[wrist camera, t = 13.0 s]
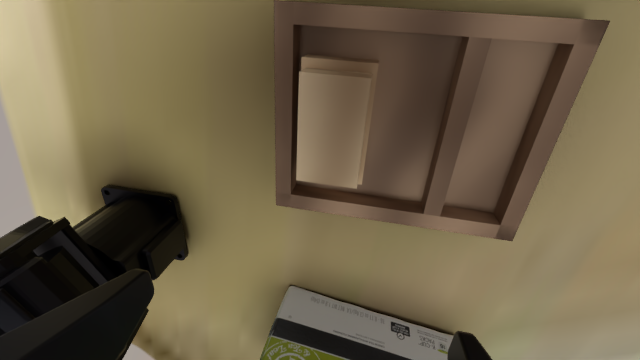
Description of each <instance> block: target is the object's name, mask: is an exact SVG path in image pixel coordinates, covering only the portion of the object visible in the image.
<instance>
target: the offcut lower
mask: <svg viewBox="0 0 640 360" xmlns="http://www.w3.org/2000/svg"><path fill="white" fill-rule="evenodd" d="M378 65H379V60H370V59H358V58H346V57H334V56H323V55H311V54H307V55H305V56H303V57H302V59H301V70H303V69H304V68H316V69H327V70H338V71H350V72H361V73H372V80H371V87H370V95H369V102H368V110H367V117H366V125H365V133H364V140H363V148H362V155H361V163H360V170H359V178H358V184H360V185H362V179H363V172H364V165H365V158H366V151H367V144H368V136H369V129H370V122H371V115H372V108H373V101H374V93H375V86H376V79H377V72H378Z"/></svg>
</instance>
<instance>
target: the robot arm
mask: <svg viewBox="0 0 640 360" xmlns="http://www.w3.org/2000/svg"><path fill="white" fill-rule="evenodd" d="M101 192H102V195H103V198H104V201H105V204H106V205H105V206H104V207H102V208H101V209H99V210H98V211H96V212H95V213H93V214H92V215H90V216H89V217H87V218H86V219H84V220H83V221H81V222H80V223H78V224H77V225H75V226H74V227H71V226H70V225H69V224H70V222H69V221H68V220H67V219H66V218H65V217H63V218H61V219H59V220H56V221H54V222H53V221H52V220H48V219H46V218H43V217H41V216H38V217H36V218H34V219H32V220H30V221H28V222H27V223H25V224H23V225H21V226H20V227H18V228H16V229H15V230H13V231H11V232H9V233H8V234H6V235H4V236H2V237H1V238H0V360H122V359H123V357H124V355H125V354H126V352H127V350H128V348H129V346H130V344H131V343H132V341H133V339H134V337H135V335H136V333H137V331H138V330H139V328H140V326H141V324H142V322H143V320H144V318H145V317H146V315H147V313H148V311H149V310H148V309H147V306H148V305H149V303H150V301H151V299H152V297H153V295H154V286H153V283H152V280H155V279H157V278H158V277H159V276H160V275H161V273H162V272H163V271H164V270H165V269H166V268H167V267H168V265H169V264H170V263H171V262H172V261H173V260H174V259H176V260H184V259H185V258H186V257H187V248H186V242H185V237H184V231H183V226H182V221H181V216H180V211H179V205H178V200H177V198H176V197H175V196H173V195H170V194H164V193H157V192H151V191H144V190H138V189H131V188H125V187H119V186H112V185H107V186H105V187H103V188H102V189H101ZM169 200H170V201H171V202H170V201H169ZM447 359H448V360H492V359H491V357H490V356H489V355H488V353H487V352H486V350H485V349H484V348H483V346H482V345H481V344H480V342H479V341H478V340H477V338H476V337H475V336H474V335H473V334H471V333H467V332H462V331H457V332H456V333H455V334H454V337H453V339H452V342H451V344H450V346H449V349H448V355H447Z"/></svg>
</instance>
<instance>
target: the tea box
mask: <svg viewBox="0 0 640 360" xmlns="http://www.w3.org/2000/svg"><path fill="white" fill-rule="evenodd" d="M453 337H454V335H449V334H445V333H440V332H437V331H435V330H432V329H428V328H425V327H422V326H418V325H414V324H411V323H408V322H405V321H402V320H399V319H396V318H393V317H390V316H386V315H383V314H379V313H376V312H372V311H369V310H366V309H364V308H361V307H358V306H355V305H352V304H348V303H344V302H341V301H337V300H334V299H332V298H328V297H326V296H323V295H320V294H317V293H313V292H310V291H307V290H305V289H302V288H299V287H295V286H290V287H289V288H288V290H287V292H286V294H285V296H284V298H283V301H282V303H281V306H280V308H279V311H278V313H277V316H276V318H275V321H274V323H273V325H272V328H271V330H270V333H269V336H268V339H267V342H266V344H265V347H264V350H263V352H262V355H261V358H260V360H448V359H447V355H448V349H449V346H450V344H451V342H452V339H453Z"/></svg>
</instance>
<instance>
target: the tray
mask: <svg viewBox="0 0 640 360" xmlns="http://www.w3.org/2000/svg"><path fill="white" fill-rule="evenodd" d="M609 22H610V21H605V20H588V19H572V18H555V17H539V16H523V15H506V14H490V13H474V12H457V11H441V10H424V9H408V8H392V7H375V6H359V5H342V4H326V3H310V2H293V1H277V0H274V50H275V151H276V205H279V206H285V207H292V208H298V209H305V210H311V211H318V212H324V213H331V214H338V215H344V216H351V217H357V218H364V219H370V220H377V221H383V222H390V223H396V224H403V225H409V226H416V227H423V228H429V229H436V230H442V231H449V232H455V233H462V234H468V235H475V236H481V237H488V238H494V239H501V240H508V241H513V238H514V236H515V234H516V232H517V229H518V227H519V225H520V223H521V220H522V218H523V216H524V214H525V211H526V209H527V207H528V205H529V202H530V200H531V198H532V196H533V193H534V191H535V189H536V187H537V184H538V182H539V180H540V178H541V175H542V173H543V171H544V169H545V166H546V164H547V162H548V160H549V157H550V155H551V153H552V151H553V148H554V146H555V144H556V142H557V139H558V137H559V135H560V133H561V130H562V128H563V126H564V124H565V121H566V119H567V117H568V115H569V112H570V110H571V108H572V106H573V103H574V101H575V99H576V97H577V94H578V92H579V90H580V88H581V85H582V83H583V81H584V79H585V76H586V74H587V72H588V70H589V67H590V65H591V63H592V61H593V58H594V56H595V54H596V52H597V49H598V47H599V45H600V43H601V40H602V38H603V36H604V34H605V31H606V29H607V27H608V25H609ZM307 54H311V55H323V56H334V57H346V58H358V59H370V60H379V65H378V72H377V79H376V86H375V93H374V101H373V108H372V115H371V122H370V129H369V136H368V144H367V151H366V158H365V165H364V172H363V179H362V185H360V184H357V189H355V188H348V187H341V186H333V185H326V184H319V183H312V182H305V181H298V180H296V172H297V133H298V93H299V71H301V59H302V57H303V56H305V55H307Z"/></svg>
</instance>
